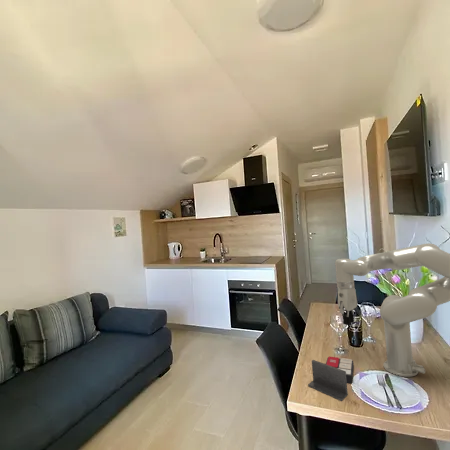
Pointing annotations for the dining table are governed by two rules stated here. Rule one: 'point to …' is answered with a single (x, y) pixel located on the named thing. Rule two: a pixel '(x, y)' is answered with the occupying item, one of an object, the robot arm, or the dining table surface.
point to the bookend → (329, 380)
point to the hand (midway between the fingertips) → (348, 323)
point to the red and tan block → (342, 366)
